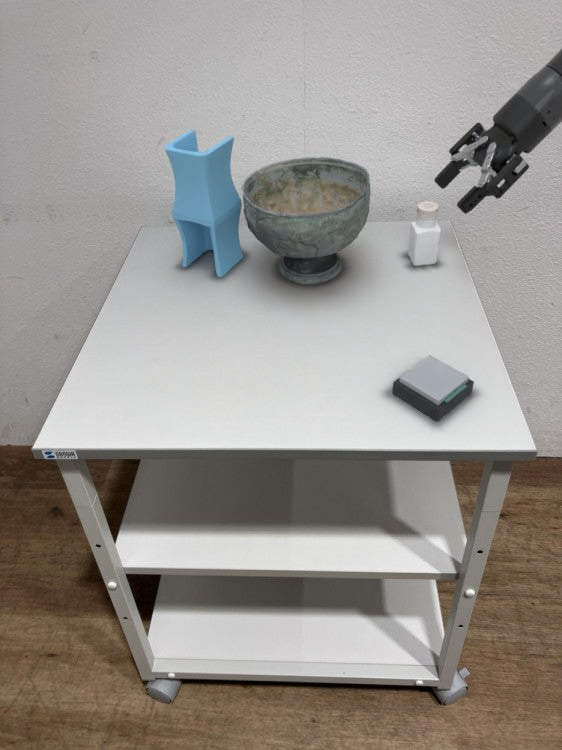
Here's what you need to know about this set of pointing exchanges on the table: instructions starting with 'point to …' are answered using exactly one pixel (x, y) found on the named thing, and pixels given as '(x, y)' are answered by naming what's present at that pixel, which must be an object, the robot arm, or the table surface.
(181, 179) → the blue curved channel stand
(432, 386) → the kitchen scale
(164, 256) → the table surface
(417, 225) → the salt shaker
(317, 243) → the bowl
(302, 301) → the table surface
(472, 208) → the robot arm
